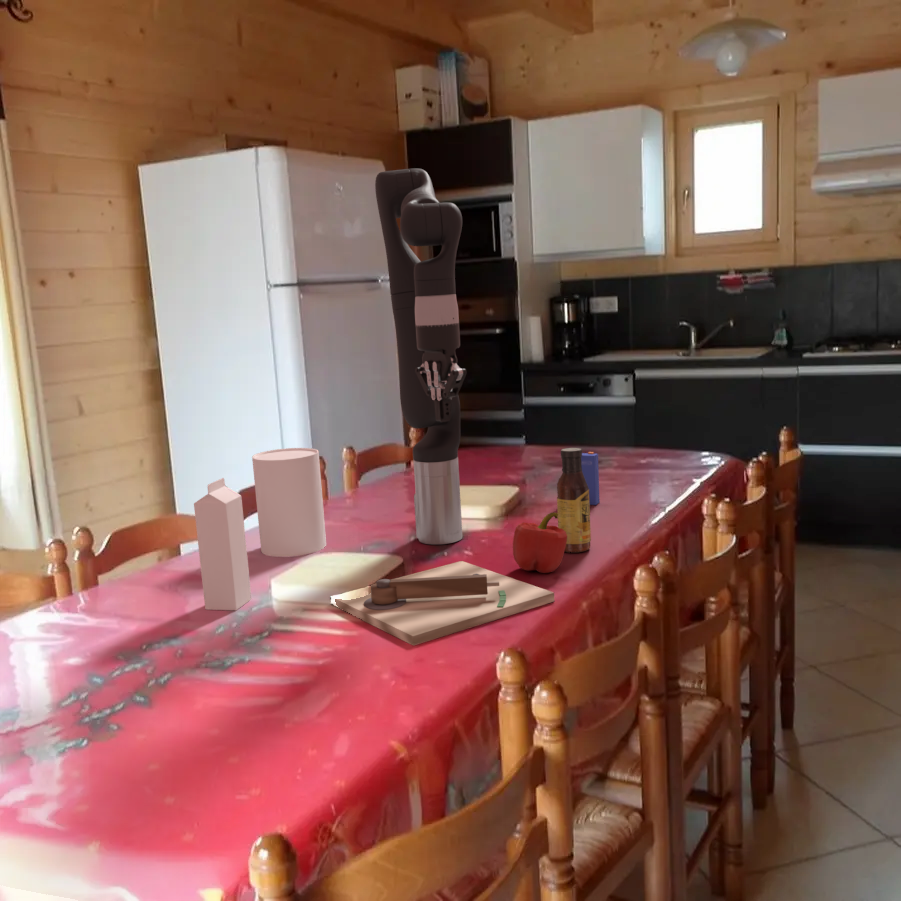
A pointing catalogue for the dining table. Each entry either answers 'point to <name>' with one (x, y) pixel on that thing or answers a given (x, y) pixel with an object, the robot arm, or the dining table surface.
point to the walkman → (591, 475)
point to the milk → (222, 548)
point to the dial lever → (429, 588)
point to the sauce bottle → (573, 502)
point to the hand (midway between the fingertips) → (443, 421)
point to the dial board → (447, 606)
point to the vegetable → (539, 545)
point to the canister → (289, 501)
